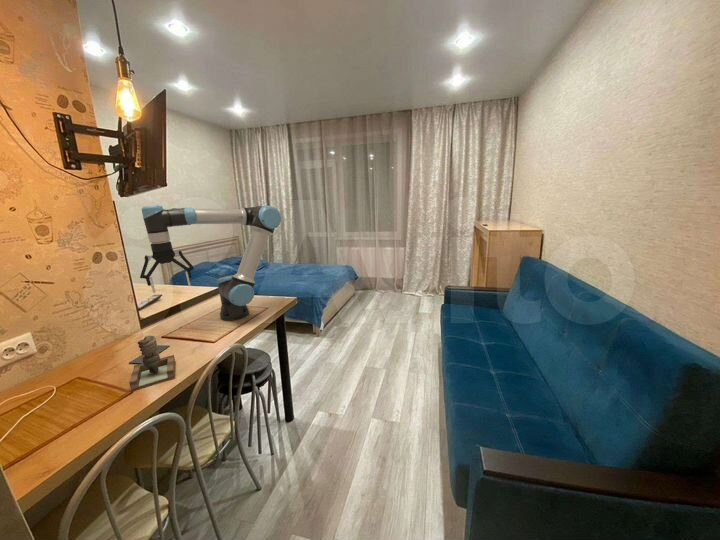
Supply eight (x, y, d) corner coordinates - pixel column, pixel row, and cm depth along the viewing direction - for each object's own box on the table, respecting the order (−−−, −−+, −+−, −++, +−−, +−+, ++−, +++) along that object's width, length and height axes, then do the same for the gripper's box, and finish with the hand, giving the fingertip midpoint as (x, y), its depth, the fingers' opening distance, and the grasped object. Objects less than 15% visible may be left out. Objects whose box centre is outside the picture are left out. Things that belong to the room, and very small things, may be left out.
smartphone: (170, 345, 132) (142, 363, 118) (171, 347, 132) (143, 365, 118) (157, 345, 133) (127, 362, 119) (157, 346, 133) (128, 364, 119)
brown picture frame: (175, 378, 107) (173, 369, 106) (131, 391, 101) (129, 382, 100) (175, 362, 118) (173, 354, 117) (136, 373, 112) (134, 365, 111)
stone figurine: (162, 366, 113) (153, 332, 109) (166, 372, 109) (156, 336, 105) (145, 373, 109) (135, 337, 105) (148, 379, 105) (137, 342, 102)
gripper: (192, 237, 134) (202, 280, 140) (125, 245, 121) (139, 293, 127) (193, 238, 128) (203, 284, 134) (123, 247, 115) (137, 297, 121)
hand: (172, 288), depth 130 cm, fingers open, 13 cm apart
